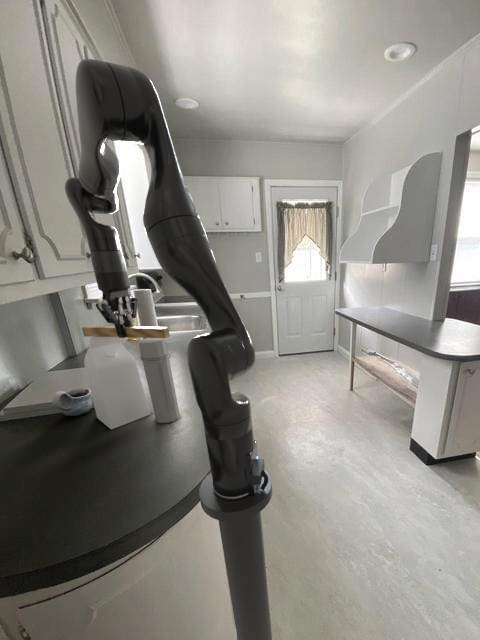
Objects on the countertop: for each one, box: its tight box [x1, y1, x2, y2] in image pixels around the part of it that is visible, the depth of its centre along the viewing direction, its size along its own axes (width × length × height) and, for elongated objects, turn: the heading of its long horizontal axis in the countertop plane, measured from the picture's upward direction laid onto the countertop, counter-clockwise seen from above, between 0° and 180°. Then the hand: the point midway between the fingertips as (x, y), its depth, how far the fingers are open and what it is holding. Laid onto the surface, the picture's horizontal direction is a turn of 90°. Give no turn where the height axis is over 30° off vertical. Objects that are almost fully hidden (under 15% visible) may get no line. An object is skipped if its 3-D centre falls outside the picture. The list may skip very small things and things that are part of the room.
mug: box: [51, 387, 94, 417], centre depth 96 cm, size 10×12×10 cm
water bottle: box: [138, 338, 181, 424], centre depth 88 cm, size 9×8×25 cm
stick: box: [81, 325, 171, 339], centre depth 84 cm, size 26×2×3 cm, turn 78°
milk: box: [83, 336, 152, 430], centre depth 92 cm, size 12×12×26 cm
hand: (126, 336), depth 85 cm, fingers closed on stick, 2 cm apart
